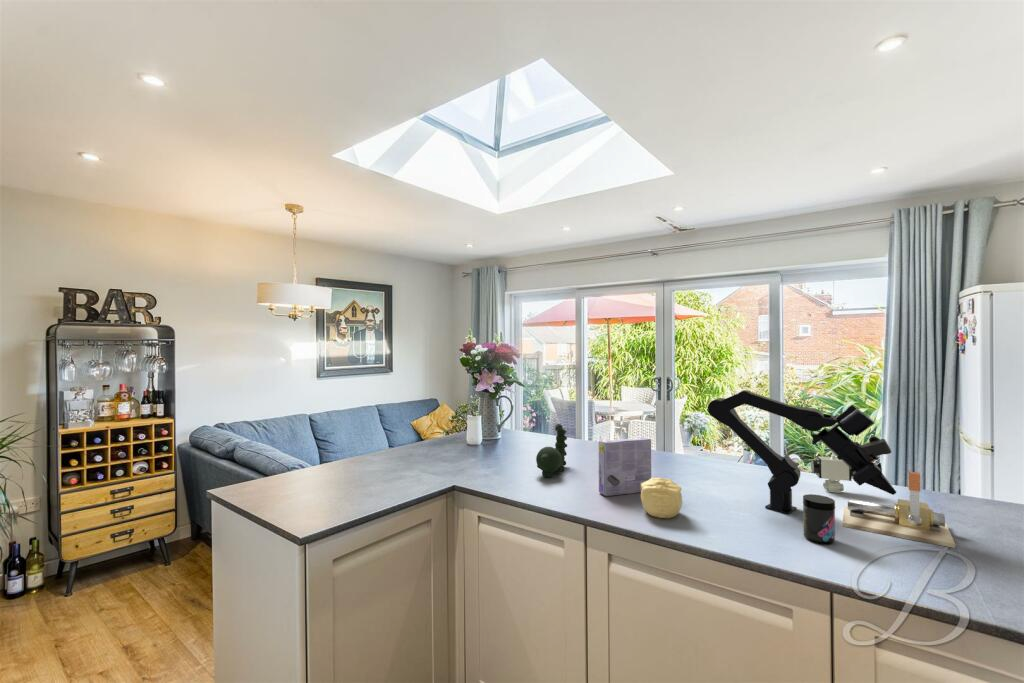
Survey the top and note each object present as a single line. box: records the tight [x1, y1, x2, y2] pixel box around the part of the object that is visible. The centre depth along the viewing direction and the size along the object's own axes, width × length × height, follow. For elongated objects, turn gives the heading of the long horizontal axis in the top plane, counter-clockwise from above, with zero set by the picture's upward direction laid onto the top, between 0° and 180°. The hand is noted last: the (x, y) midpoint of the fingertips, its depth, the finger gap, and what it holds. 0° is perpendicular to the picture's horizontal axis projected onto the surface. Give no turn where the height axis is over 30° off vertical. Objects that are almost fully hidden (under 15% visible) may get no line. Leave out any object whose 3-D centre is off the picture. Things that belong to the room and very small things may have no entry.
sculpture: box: [640, 476, 683, 519], centre depth 133 cm, size 11×12×11 cm
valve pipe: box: [847, 498, 946, 532], centre depth 124 cm, size 20×5×6 cm, turn 52°
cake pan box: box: [598, 437, 652, 497], centre depth 153 cm, size 19×5×18 cm, turn 108°
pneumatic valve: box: [810, 454, 853, 494], centre depth 151 cm, size 6×12×12 cm, turn 68°
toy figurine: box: [535, 423, 568, 479], centre depth 176 cm, size 9×19×25 cm
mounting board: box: [842, 506, 956, 549], centre depth 122 cm, size 22×15×1 cm
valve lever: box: [907, 470, 922, 526], centre depth 118 cm, size 3×2×14 cm
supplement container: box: [802, 493, 836, 546], centre depth 115 cm, size 7×7×10 cm
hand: (894, 493), depth 120 cm, fingers closed
